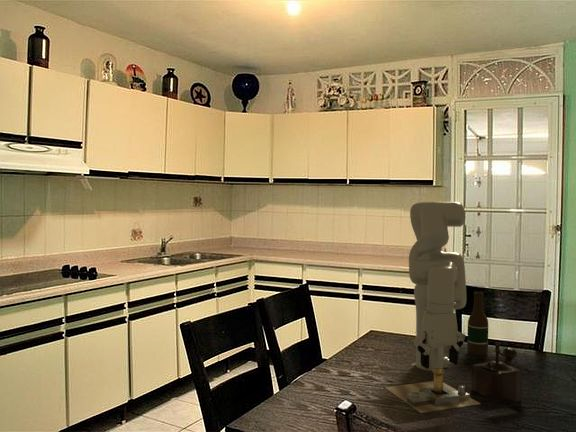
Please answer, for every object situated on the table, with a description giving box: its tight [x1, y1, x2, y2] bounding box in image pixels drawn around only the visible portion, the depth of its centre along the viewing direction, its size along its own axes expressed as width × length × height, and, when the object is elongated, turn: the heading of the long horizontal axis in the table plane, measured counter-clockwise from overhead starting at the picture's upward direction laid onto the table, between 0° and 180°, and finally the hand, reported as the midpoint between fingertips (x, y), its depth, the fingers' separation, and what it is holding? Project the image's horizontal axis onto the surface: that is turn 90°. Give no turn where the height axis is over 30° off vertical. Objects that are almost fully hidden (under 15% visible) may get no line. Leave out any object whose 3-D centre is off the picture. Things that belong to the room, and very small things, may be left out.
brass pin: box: [432, 368, 446, 395], centre depth 152 cm, size 3×3×9 cm
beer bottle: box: [466, 291, 489, 357], centre depth 203 cm, size 8×8×24 cm
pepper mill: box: [471, 343, 523, 404], centre depth 155 cm, size 16×11×18 cm
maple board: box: [385, 380, 482, 414], centre depth 156 cm, size 20×20×2 cm
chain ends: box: [407, 385, 471, 407], centre depth 152 cm, size 19×8×3 cm, turn 109°
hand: (439, 365), depth 152 cm, fingers open, 9 cm apart
